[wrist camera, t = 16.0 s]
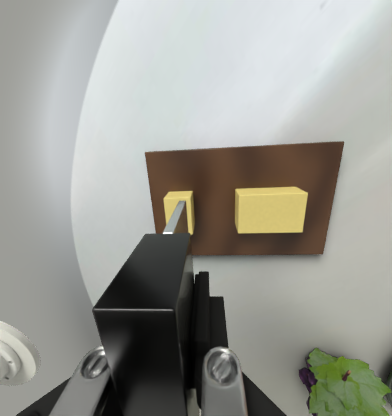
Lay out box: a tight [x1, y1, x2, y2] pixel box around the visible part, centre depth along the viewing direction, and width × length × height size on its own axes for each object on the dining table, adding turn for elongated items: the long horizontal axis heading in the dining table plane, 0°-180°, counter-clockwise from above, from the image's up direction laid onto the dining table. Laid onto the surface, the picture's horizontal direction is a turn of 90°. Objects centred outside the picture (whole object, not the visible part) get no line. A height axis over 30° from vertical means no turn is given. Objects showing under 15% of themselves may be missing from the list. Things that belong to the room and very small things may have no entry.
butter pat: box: [164, 191, 195, 235], centre depth 22 cm, size 3×4×3 cm, turn 3°
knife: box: [92, 201, 200, 416], centre depth 10 cm, size 2×9×9 cm, turn 3°
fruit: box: [299, 348, 391, 416], centre depth 29 cm, size 10×11×15 cm
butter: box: [235, 187, 308, 233], centre depth 22 cm, size 7×4×3 cm, turn 93°
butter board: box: [145, 141, 344, 255], centre depth 24 cm, size 22×14×2 cm, turn 93°
